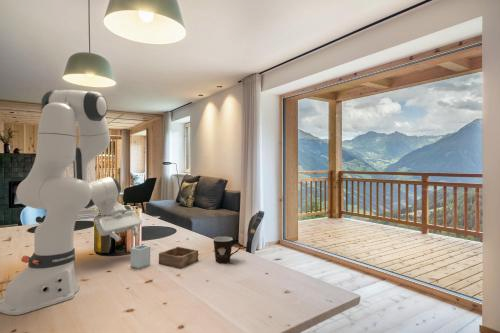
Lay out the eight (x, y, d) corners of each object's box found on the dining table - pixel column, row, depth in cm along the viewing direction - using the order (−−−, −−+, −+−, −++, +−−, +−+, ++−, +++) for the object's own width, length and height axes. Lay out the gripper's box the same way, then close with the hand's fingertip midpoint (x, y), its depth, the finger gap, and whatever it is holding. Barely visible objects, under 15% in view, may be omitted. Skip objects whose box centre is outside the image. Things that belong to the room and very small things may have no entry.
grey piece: (139, 269, 126) (139, 249, 126) (130, 267, 129) (130, 248, 129) (150, 264, 132) (150, 246, 132) (141, 262, 134) (142, 244, 134)
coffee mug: (209, 262, 136) (209, 239, 136) (220, 257, 144) (220, 235, 144) (231, 266, 131) (232, 243, 130) (241, 261, 138) (242, 238, 138)
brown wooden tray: (180, 268, 128) (180, 257, 128) (158, 263, 133) (158, 253, 133) (198, 260, 138) (198, 250, 138) (177, 256, 144) (177, 246, 144)
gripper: (95, 212, 128) (110, 238, 124) (134, 206, 146) (149, 228, 142) (88, 221, 130) (103, 248, 126) (127, 214, 148) (142, 237, 144)
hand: (128, 237), depth 134 cm, fingers open, 8 cm apart
